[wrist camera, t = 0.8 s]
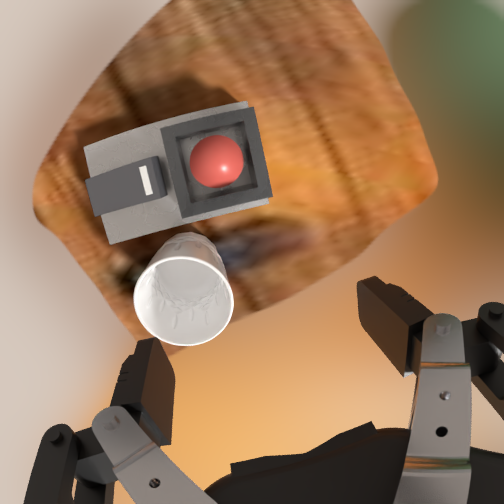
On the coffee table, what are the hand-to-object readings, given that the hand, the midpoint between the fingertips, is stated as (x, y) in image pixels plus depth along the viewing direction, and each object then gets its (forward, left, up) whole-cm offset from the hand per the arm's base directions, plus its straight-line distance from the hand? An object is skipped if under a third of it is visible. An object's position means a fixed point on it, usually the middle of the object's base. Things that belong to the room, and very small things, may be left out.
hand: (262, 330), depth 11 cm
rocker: (-6, -8, -16) cm, 19 cm away
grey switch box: (-6, -4, -21) cm, 23 cm away
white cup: (+4, -5, -22) cm, 23 cm away
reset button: (-6, 0, -17) cm, 18 cm away
